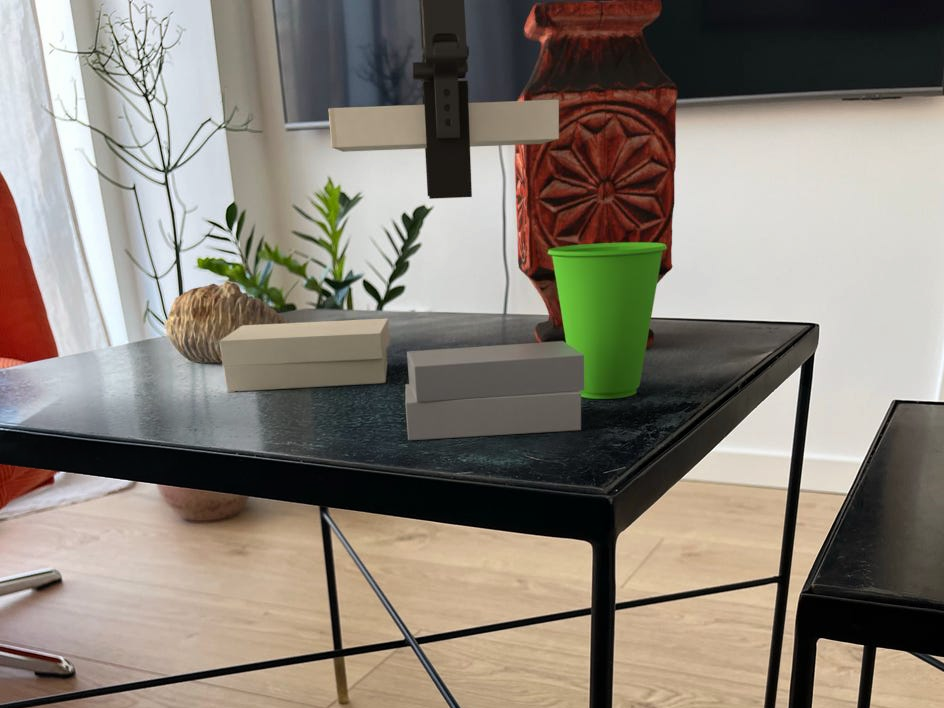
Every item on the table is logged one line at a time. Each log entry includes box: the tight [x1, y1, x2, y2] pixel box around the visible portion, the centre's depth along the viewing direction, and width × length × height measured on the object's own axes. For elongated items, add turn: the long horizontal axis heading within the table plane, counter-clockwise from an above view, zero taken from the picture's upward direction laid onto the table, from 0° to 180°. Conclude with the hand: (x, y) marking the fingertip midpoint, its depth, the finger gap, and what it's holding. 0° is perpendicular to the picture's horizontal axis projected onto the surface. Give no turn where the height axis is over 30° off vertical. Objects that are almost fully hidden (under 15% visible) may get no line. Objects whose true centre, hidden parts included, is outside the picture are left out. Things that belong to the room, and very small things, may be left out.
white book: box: [328, 100, 559, 153], centre depth 68 cm, size 14×10×2 cm
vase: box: [514, 0, 679, 349], centre depth 99 cm, size 14×14×30 cm
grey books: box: [404, 341, 584, 442], centre depth 72 cm, size 12×8×5 cm, turn 94°
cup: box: [548, 242, 667, 400], centre depth 79 cm, size 9×9×11 cm
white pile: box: [219, 317, 391, 393], centre depth 93 cm, size 14×11×4 cm
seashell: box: [163, 280, 291, 364], centre depth 106 cm, size 14×10×10 cm
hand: (448, 196), depth 70 cm, fingers closed on white book, 10 cm apart
